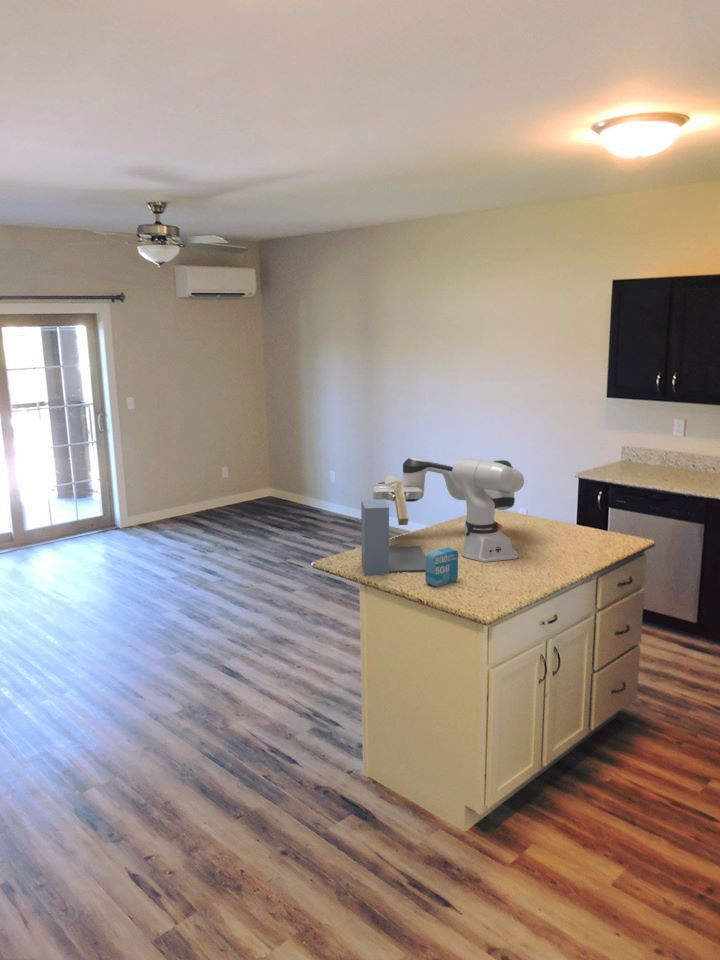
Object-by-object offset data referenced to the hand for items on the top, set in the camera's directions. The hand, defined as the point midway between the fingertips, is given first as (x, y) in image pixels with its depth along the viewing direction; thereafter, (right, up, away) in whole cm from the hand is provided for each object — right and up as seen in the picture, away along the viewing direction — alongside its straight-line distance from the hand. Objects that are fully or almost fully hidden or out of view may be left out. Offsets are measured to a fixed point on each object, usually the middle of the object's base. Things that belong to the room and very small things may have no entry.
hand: (399, 497), depth 299 cm
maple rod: (0, -4, -1) cm, 4 cm away
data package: (+14, -31, -26) cm, 42 cm away
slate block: (-10, -27, -12) cm, 32 cm away
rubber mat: (+2, -25, -1) cm, 25 cm away
